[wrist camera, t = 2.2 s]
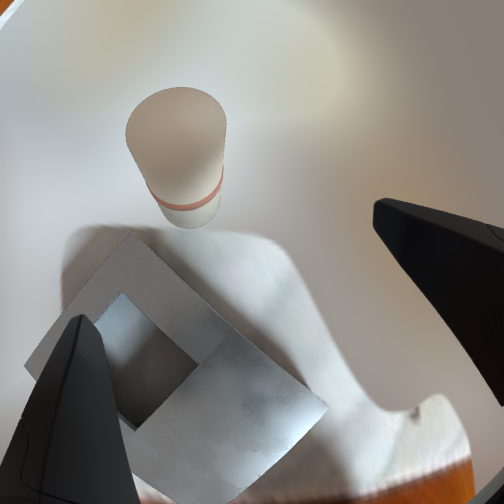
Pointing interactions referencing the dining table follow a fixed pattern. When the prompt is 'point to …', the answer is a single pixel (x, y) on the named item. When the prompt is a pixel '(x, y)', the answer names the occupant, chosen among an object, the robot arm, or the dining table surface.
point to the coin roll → (180, 152)
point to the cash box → (196, 386)
